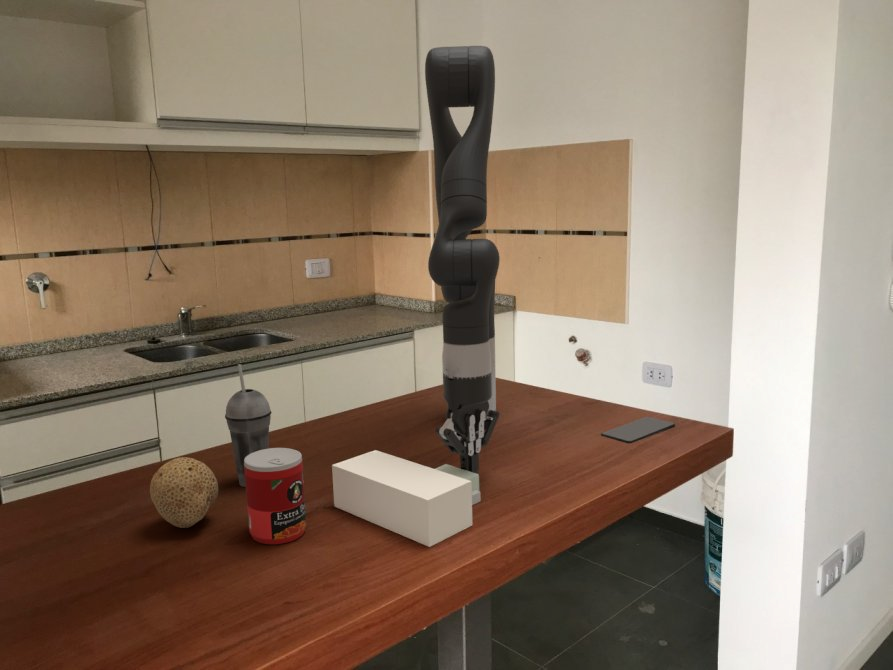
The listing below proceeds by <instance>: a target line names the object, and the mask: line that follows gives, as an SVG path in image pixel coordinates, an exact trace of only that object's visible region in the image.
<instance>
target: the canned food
mask: <svg viewBox="0 0 893 670" xmlns="http://www.w3.org/2000/svg"><path fill="white" fill-rule="evenodd" d="M244 470H245V484H246V487H245V496H246V505H247V517H248V518H247V519H248V530H249V531H248V532H249V533H250V536H251V538H252V539H253V541H255V542H257V543H260V544H264V545H281V544H286V543H290V542H293V541H296V540H297V539H299V538H301V537H302V536H303V535H304V533H305V531H306V527H307V513H306V499H305V497H306V496H305V495H306V494H305V481H304V465H303V455H302V453H301V452H300V451H299V450H296V449H293V448H288V447H269V449H263V450H259V451H256V452H253V453H251V454H249V455H248V456H246V457H245V459H244Z"/></svg>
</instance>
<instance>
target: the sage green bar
mask: <svg viewBox="0 0 893 670" xmlns="http://www.w3.org/2000/svg"><path fill="white" fill-rule="evenodd" d="M434 469H436V470H439V471H442V472H445V473H448V474H451V475H454V476H457V477H461V478H464V479H467V480H470V481H472V491H475V490H477V491H480V474H479V473H478V474H476V473H473V472H470V471H467V470H463V469H461V467H460V468H459V467H457V466H453V465H450V464H448V463H445V464H442V465H440V466H438V467H435V468H434Z"/></svg>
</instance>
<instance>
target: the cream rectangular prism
mask: <svg viewBox="0 0 893 670" xmlns="http://www.w3.org/2000/svg"><path fill="white" fill-rule="evenodd" d="M331 469H332V471H331V473H332V487H333V488H332V490H333V504H334V505H333V507H334V508H337V509H340V510H342V511H344V512H347V513H349V514H352V515H353V516H355V517H359V518H360V519H363V520H365V521H368V522H370V523H372V524H375V525H377V526H379V527H382V528H384V529H387V531H392V532H393V533H396V534H397V535H398V534H399V535H401V536H403V537H406V538H407V539H410V540H413V541H415V542H417V543H418V544H421V545H424V546H425V547H428V548H431V547H433V546H434V545H436V544H437V545H438V544H439V543H441V542H442V541H444V540H446V539H448V538H450V537H452V536H454V535H456V534H458V533H460V532H461V531H462V532H463V531H464V530H466V529H468V528H470V527H471V526H473V505H476V504H478V503H479V502H481V495H482V494H481V491H480V490H479V491H477V490H475V491H472V481H470V480H467V479H464V478H461V477H457V476H454V475H451V474H448V473H445V472H442V471H439V470H436V469H435V468H432V467H430V466H426V465H423V464H420V463H417V462H415V461H410V460H407V459H404V458H402V457H398V456H396V455H392V454H389V453H386V452H383V451H380V450H376V449H374V450H373V451H368V452H366V453H363V454H360V455H357V456H354V457H351V458H348V459H346V460H343V461H340V462H337V463H333V464H331Z"/></svg>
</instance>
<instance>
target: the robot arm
mask: <svg viewBox="0 0 893 670" xmlns="http://www.w3.org/2000/svg"><path fill="white" fill-rule="evenodd" d="M424 63H425V64H424V76H425V77H424V78H425V87H426V96H427V103H428V110H429V119H430V127H431V133H432V142H433V164H434V188H435V197H436V198H435V201H436V208H437V217H438V219H437V220H438V226H437V230H436V234H435V237H434V240H433V243H432V247H431V249H430V253H429V257H428V262H427V263H428V265H427V266H428V267H427V268H428V274H429V276H430V278H431V280H432V281H433V282H434V283H435V284H436V285H437V286H439V287H440V289H441V294H442V297H443V299H444V300H445V302H446V303H447V304H445V305H444V307H443V309H442V314H441V315H442V316H441V317H442V333H443V334H442V335H443V336H442V340H443V341H442V355H441V356H442V357H441V360H442V361H441V363H442V365H441V366H442V387H443V388H442V390H443V393H442V394H443V399H444V400H445V403H446V404H447V410H446V413H445V418H446V420H445V422H444V423H443V425H442V426H439V425H438V426H437V427H436V428H435V434H436V435H437V437H439V439H440V440H441V442H442V443H443V445H445V447H446V448H447V449H448V450H449V453H450V452H451V453H454V454H458V455H459V457H460V458H459V459H460V460H459V463H460V465H459V466H460V469H463V470H467V471H470V472H473V473H476V474H479V469H480V464H479V463H480V461H479V460H480V457H479V455H480V454H479V453H480V452H481V449H482V447H486V446H487V445H488V444H489V441H490V439H491V437H492V434H493V432H494V429H495V428H496V427H495V426H496V424H497V422H498V420H499V416H500V412H499V411H497V401H496V400H497V389H496V388H497V385H496V383H497V381H496V379H497V378H496V333H495V332H496V331H495V330H496V329H495V299H496V278H497V275H498V273H499V272H498V271H499V267H500V261H501V260H500V258H501V257H500V252H499V249H498V247H497V246H496V244H495V243H494V242H493V241H492V240H491V239H488V238H467V237H468V236H469V235H470V234H471V232H472V231H473V230H475V229H477V228H480V227H481V226H483V225H484V224H485V223H486V220H487V217H488V214H487V212H488V209H487V208H488V201H487V200H488V193H487V192H488V190H487V189H488V187H487V185H488V184H487V181H488V180H487V178H488V177H487V172H488V157H489V149H490V142H491V134H492V127H493V126H492V125H493V117H494V116H493V115H494V103H495V91H496V67H495V59H494V55H493V52H492V50H491V49H490V48H489V47H488V46H486V45H461V46H457V45H456V46H439V47H432V48H431V49H429V51H428V52H427V54H426V58H425V62H424ZM469 107H470V108H473V113H472V117H471V120H470V122H469V125H468V126H467V128H466V130H465V132H464V133H463V135H461V134H460V132H459V130H458V129H457V126H456V125H455V122H454V120H453V116H452V115H451V111H450V108H469Z"/></svg>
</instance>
